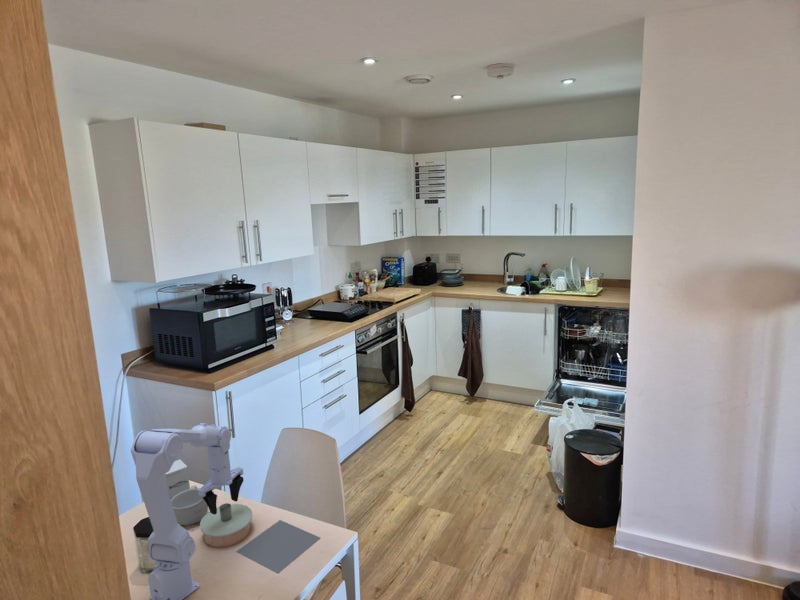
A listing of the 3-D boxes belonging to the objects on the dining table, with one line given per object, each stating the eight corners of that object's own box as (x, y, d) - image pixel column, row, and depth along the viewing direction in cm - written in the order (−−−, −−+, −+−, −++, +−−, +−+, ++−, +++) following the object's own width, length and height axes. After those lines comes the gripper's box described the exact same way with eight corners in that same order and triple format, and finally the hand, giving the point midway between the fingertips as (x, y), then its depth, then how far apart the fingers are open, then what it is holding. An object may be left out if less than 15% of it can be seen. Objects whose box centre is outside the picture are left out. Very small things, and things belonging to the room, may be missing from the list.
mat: (278, 575, 138) (277, 573, 137) (236, 553, 147) (236, 551, 147) (320, 539, 151) (320, 537, 151) (280, 521, 161) (280, 519, 161)
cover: (223, 543, 144) (221, 527, 144) (189, 527, 152) (187, 512, 151) (262, 514, 157) (261, 500, 156) (229, 501, 165) (227, 487, 164)
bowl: (223, 553, 147) (221, 539, 146) (195, 538, 154) (193, 525, 153) (258, 528, 157) (257, 515, 157) (230, 516, 164) (229, 503, 164)
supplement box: (169, 509, 169) (164, 474, 167) (162, 500, 175) (157, 466, 172) (192, 500, 174) (187, 466, 172) (184, 491, 180) (180, 458, 177)
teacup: (201, 530, 158) (198, 506, 156) (166, 530, 158) (163, 507, 157) (217, 503, 172) (215, 481, 170) (185, 504, 172) (182, 482, 170)
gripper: (207, 479, 143) (212, 523, 146) (248, 457, 155) (252, 498, 158) (191, 473, 147) (196, 516, 150) (232, 452, 159) (237, 491, 161)
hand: (224, 506), depth 154 cm, fingers open, 7 cm apart
